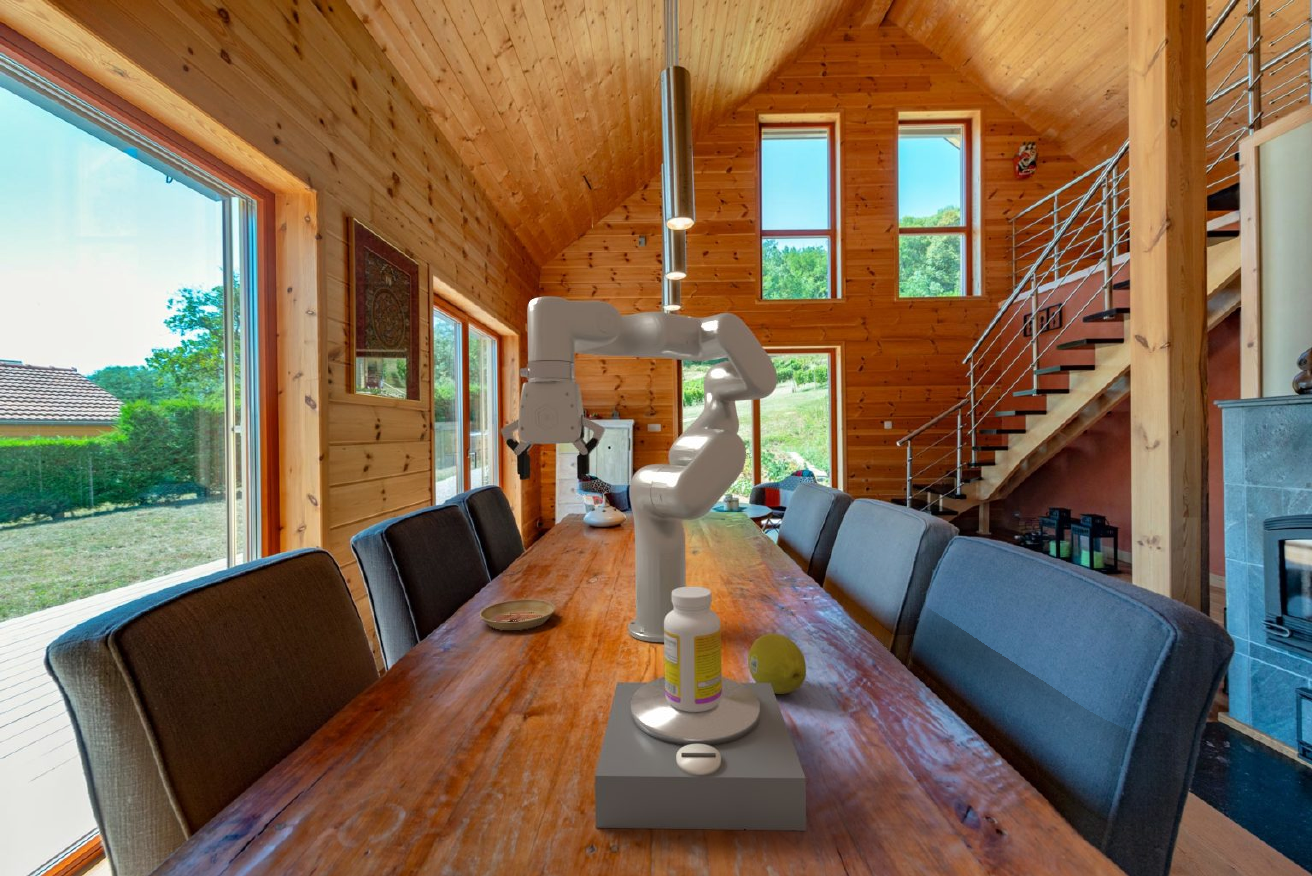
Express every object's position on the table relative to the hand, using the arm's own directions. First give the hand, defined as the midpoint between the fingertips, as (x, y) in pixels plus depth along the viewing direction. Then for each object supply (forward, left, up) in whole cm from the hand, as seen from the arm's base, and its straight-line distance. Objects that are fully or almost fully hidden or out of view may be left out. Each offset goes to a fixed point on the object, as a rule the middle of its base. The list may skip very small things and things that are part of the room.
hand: (553, 479), depth 92 cm
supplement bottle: (+6, +33, -24) cm, 42 cm away
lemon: (-14, +33, -31) cm, 47 cm away
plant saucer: (-8, -22, -31) cm, 39 cm away
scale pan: (+6, +33, -25) cm, 42 cm away
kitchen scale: (+8, +35, -30) cm, 47 cm away
